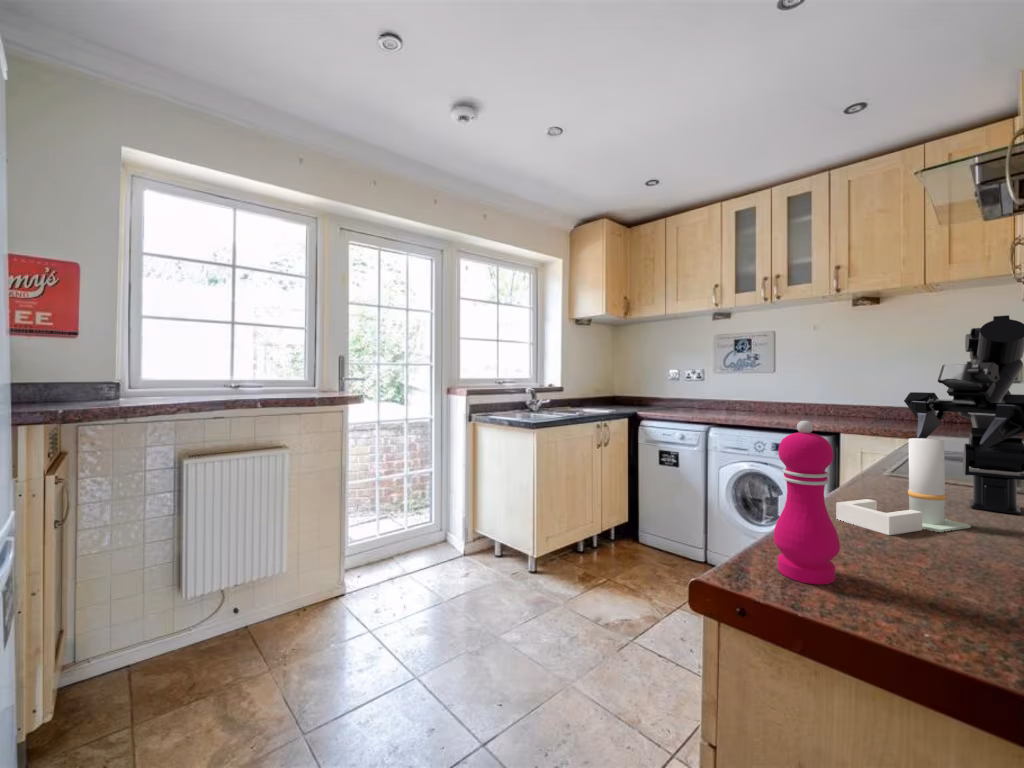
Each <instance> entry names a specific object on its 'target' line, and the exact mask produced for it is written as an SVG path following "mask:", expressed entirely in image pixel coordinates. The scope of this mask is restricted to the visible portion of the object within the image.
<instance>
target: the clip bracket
mask: <svg viewBox="0 0 1024 768" xmlns="http://www.w3.org/2000/svg"><path fill="white" fill-rule="evenodd" d="M877 502H878V501H877V500H874V499H870V498H869V499H868V498H865V499H858V500H857V499H856V500H847V501H839V502H838V501H837V502H836V503H835V504H836V505H835V509H836V510H835V512H836V515H835V516H836V517H835V518H836V520H837V519H838V520H837V521H840V520H841V522H843V521H844V523H847V524H850V525H853V524H854V525H853V526H856V527H860V528H864V529H866V530H867V529H868V530H869V531H874V532H877V533H881V534H884V535H887V536H893V535H900V534H905V533H912V532H919V531H923V529H922V512H920V511H915V510H909V509H907V510H904V509H903V510H898V511H891V512H884V511H880V510H877V504H878V503H877Z"/></svg>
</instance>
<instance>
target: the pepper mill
mask: <svg viewBox="0 0 1024 768" xmlns="http://www.w3.org/2000/svg"><path fill="white" fill-rule="evenodd" d="M796 430H797V431H798V432H794V433H790V434H788V435H786V436H785V437H783V438H782V439H781V440H780V442H779V445H778V450H777V451H778V453H777V454H778V457H779V460H780V461H781V463H783V465H784V466H785V468H783V469H782V473H783V476H782V479H783V480H784V481H785V482H786V489H787V490H786V500H785V504H784V507H783V509H782V511H781V513H780V515H779V517H778V518H777V521H776V522H775V526H774V529H773V541H774V545H775V546H776V547H777V549H778V550H779V551H780V552H781V553H780V554H779V555H778V556H777V570H778V572H779V573H780V574H781V575H783V576H784V577H786V578H788V579H790V580H794V581H797V582H800V583H804V584H809V585H817V586H819V585H820V586H821V585H823V586H824V585H830V584H832V583H834V582H835V581H836V566H835V564H834V563H833V562H832V560H833V559H834V558H836V557H837V556H838V555H839V553H840V550H841V546H840V539H839V534H838V531H837V530H836V528H835V525H834V524H833V521H832V520H831V517H830V515H829V512H828V510H827V505H826V503H825V487H826V485H828V484H829V481H830V480H828V478H829V474H830V473H829V472H827V471H826V470H827V468H828V467H829V466H830V465H831V464H832V463H833V460H834V450H833V446H832V445H831V443H830V442H829V441H828V440H827V439H826V438H824V437H823V436H822V435H820V434H817V433H812V432H813V430H814V426H813V423H812V422H810V421H808V420H801V421H799V422H798V423H797V425H796Z"/></svg>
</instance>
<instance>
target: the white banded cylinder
mask: <svg viewBox="0 0 1024 768" xmlns="http://www.w3.org/2000/svg"><path fill="white" fill-rule="evenodd" d="M945 469H946V467H945V440H942V439H939V438H937V439H936V438H917V437H915V438H914V437H911V438H908V489H907V495H908V503H909V504H908V510H915V511H920V512H922V523H926V524H936V525H941V524H945V519H946V500H947V494H946V491H945V490H946V487H945V486H946V484H945V483H946V479H945V478H946V477H945V475H946V474H945Z"/></svg>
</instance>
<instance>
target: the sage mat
mask: <svg viewBox="0 0 1024 768" xmlns="http://www.w3.org/2000/svg"><path fill="white" fill-rule="evenodd" d="M971 527H972V525H971V524H967V523H963V522H960V521H959V522H958V521H955V520H951V519H947V518H945V524H941V525H936V524H926V523H922V530H926V529H927V530H926V531H930V532H933V531H935V532H934V533H937V532H939V533H944V531H945V532H949V531H951V530H952V531H956V530H963V529H969V528H971Z"/></svg>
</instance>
